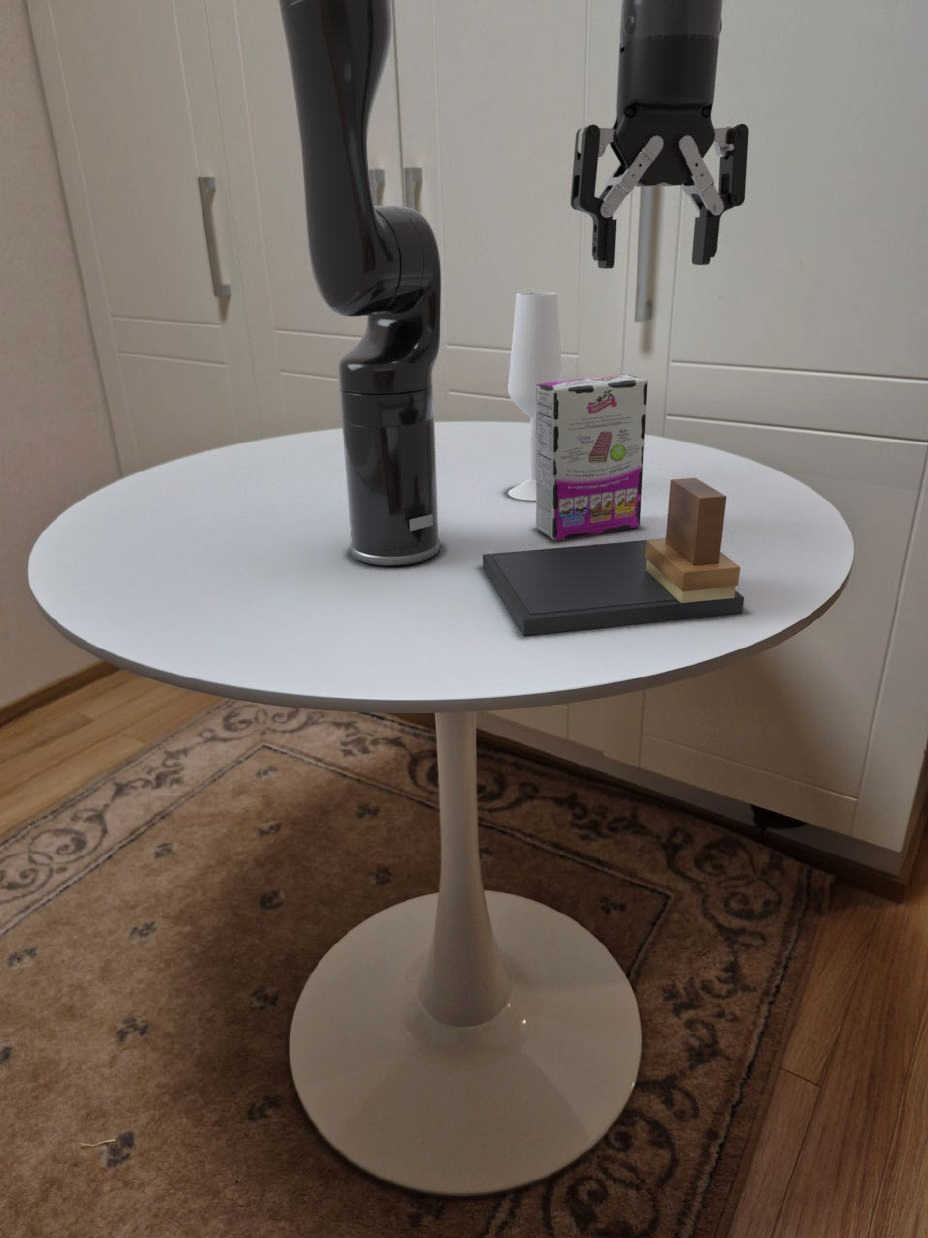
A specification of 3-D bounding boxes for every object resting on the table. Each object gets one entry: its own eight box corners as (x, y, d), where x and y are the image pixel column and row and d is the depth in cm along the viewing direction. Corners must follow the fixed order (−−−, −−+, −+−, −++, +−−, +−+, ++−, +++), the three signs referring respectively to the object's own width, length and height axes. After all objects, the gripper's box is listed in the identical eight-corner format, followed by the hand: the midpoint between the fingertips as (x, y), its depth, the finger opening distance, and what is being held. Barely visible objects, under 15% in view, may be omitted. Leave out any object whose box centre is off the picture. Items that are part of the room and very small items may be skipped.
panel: (482, 568, 87) (482, 553, 86) (668, 551, 90) (670, 536, 89) (523, 635, 72) (523, 619, 72) (742, 612, 76) (744, 596, 75)
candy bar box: (617, 515, 101) (626, 372, 94) (641, 528, 97) (651, 379, 90) (532, 528, 97) (534, 380, 90) (552, 542, 93) (556, 388, 86)
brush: (643, 569, 81) (650, 476, 78) (695, 564, 82) (704, 472, 78) (680, 604, 74) (690, 503, 70) (736, 598, 75) (749, 499, 71)
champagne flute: (504, 486, 113) (504, 292, 103) (554, 484, 113) (559, 290, 103) (512, 501, 107) (512, 296, 97) (565, 499, 107) (571, 294, 97)
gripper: (731, 48, 70) (711, 262, 77) (565, 46, 68) (559, 267, 75) (779, 30, 64) (752, 265, 71) (596, 27, 61) (587, 271, 68)
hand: (653, 266), depth 73 cm, fingers open, 8 cm apart
